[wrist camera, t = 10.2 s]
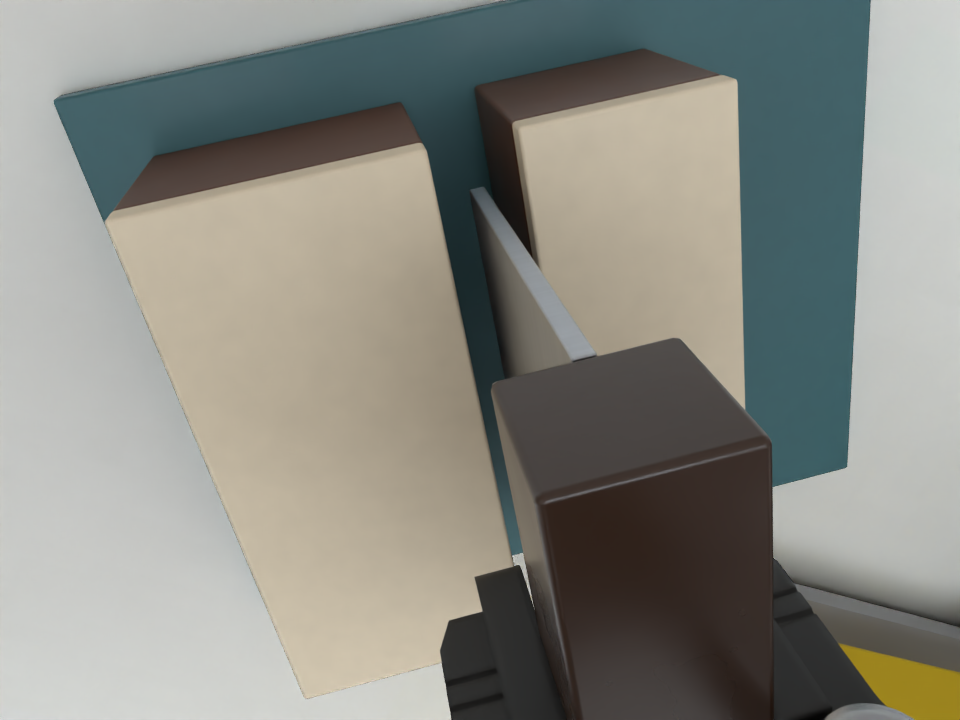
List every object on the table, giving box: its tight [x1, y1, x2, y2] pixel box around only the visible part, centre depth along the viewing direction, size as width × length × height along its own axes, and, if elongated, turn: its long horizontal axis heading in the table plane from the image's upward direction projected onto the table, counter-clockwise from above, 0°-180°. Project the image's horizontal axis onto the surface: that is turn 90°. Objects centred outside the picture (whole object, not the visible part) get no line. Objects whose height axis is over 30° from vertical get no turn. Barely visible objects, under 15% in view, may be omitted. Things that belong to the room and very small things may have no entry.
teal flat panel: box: [54, 0, 871, 699], centre depth 19 cm, size 15×18×5 cm
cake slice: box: [474, 49, 745, 409], centre depth 19 cm, size 12×4×5 cm, turn 10°
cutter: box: [469, 187, 774, 720], centre depth 13 cm, size 10×2×9 cm, turn 10°
